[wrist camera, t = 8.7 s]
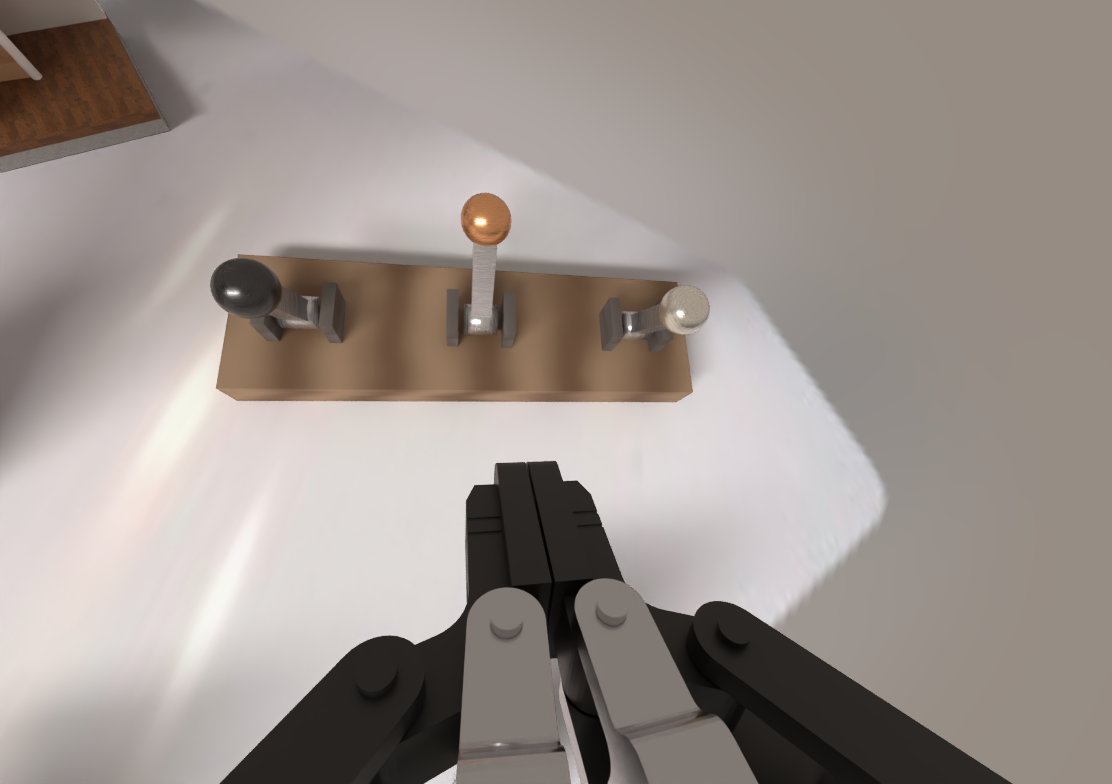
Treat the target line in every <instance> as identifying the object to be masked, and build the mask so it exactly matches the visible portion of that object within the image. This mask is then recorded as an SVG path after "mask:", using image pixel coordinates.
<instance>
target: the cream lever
mask: <svg viewBox="0 0 1112 784" xmlns="http://www.w3.org/2000/svg"><path fill="white" fill-rule="evenodd" d="M709 311H710V306H709V302H708V299H707V297H706V296H705V294H704V293H703V292H702V291H701V290H699V289H698V288H696V287H693V286H688V285H683V286H678V287H675V288H673V289H671V290H670V291H669V292H667V293H666V295H665V296H664V297H663V299H662V301H661V303H660V304H658V305H655V306H653V307H650V308H647V309H645V310H642V311H640V312H632V311H621V317H622V327H623V336H624V337H623V338H622V339H623V340H650V339H651V338H652V336H653V333H654V332H657V331H661V330H665V329H668V330H669V331H671V332H672V333H675V334H679V335H687V334H691V333H694V332H696V331H698V330H699V329H700V328H701V327H702V326H703V325H704V324H705V323H706V321H707V319H708V316H709Z"/></svg>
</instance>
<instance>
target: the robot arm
mask: <svg viewBox="0 0 1112 784" xmlns="http://www.w3.org/2000/svg"><path fill="white" fill-rule="evenodd" d="M465 551H466V593H467V605H466V607H465V610H464V612H463V613H462V615H461V616H460V618H459V619H458V620H457V621H456V622H455V623H454V624H453V625H452V626H451V627H450V628H448V629H447V630H445V631H444V632H442V633H440V634H438V635H437V636H434V637H432V638H430V639H427V640H425V641H423V642H421V643H418V644H416V645H414V644H413V643H412V642H410V641H409V640H407V639H405V638H402V637H398V636H380V637H376V638H372V639H370V640H367V641H365V642H363V643H361V644H359V645H358V646H356V647H355V648H353V649H352V650H351V651H350V652H349V653H347V654H346V655H345V656H344V657H343V658H342V659H341V660H340V661H339V662H338V663H337V664H336V665H335V666H334V667H333V668H332V669H331V670H330V672H329V673H328V674H327V675H326V676H325V677H324V678H323V679H322V680H321V681H320V682H319V683H318V684H317V685H316V686H315V687H314V688H313V689H312V690H311V691H310V692H309V693H308V694H307V695H306V696H305V697H304V698H303V699H302V700H301V701H300V702H299V703H298V704H297V705H296V706H295V707H294V708H293V709H292V710H291V711H290V712H289V713H288V714H287V715H286V716H285V717H284V718H283V719H282V720H281V721H280V722H279V724H278V725H277V726H276V727H275V728H274V729H273V730H272V731H271V732H270V733H269V734H268V735H267V736H266V737H265V738H264V739H263V740H262V741H261V742H260V743H259V744H258V745H257V746H256V747H255V748H254V749H253V750H252V751H251V752H250V753H249V754H248V755H247V756H246V757H245V758H244V759H243V760H242V761H241V762H240V763H239V764H238V765H237V766H236V767H235V768H234V769H233V770H232V771H231V772H230V773H229V775H228V776H227V777H226V778H225V779H224V780H223V781H222V782H221V783H220V784H424V783H426V782H427V781H429V780H431V779H432V778H434V777H436V776H437V775H439V774H441V773H442V772H444V771H446V770H448V769H449V768H451V767H453V766H454V765H456V764H457V775H456V784H571V780H570V773H569V766H568V761H567V756H566V752H565V749H564V747H563V746H562V745H561V744H560V741H559V736H558V729H557V720H556V710H555V701H554V692H553V682H552V673H551V663H550V659H552V658H557V659H558V664H559V669H560V674H561V680H560V685H559V700H560V705H561V708H562V712H563V716H564V720H565V724H566V728H567V732H568V736H569V740H570V743H571V747H572V751H573V755H574V759H575V763H576V767H577V771H578V775H579V778H580V782H581V784H1012V783H1010V782H1009V781H1007V780H1006V779H1004V778H1003V777H1001V776H1000V775H998V774H997V773H995V772H993V771H992V770H990V769H989V768H987V767H986V766H984V765H983V764H981V763H980V762H978V761H977V760H975V759H974V758H972V757H970V756H969V755H967V754H966V753H964V752H963V751H961V750H960V749H958V748H956V747H955V746H954V745H952V744H950V743H949V742H947V741H946V740H944V739H943V738H941V737H940V736H938V735H936V734H935V733H933V732H932V731H930V730H929V729H927V728H926V727H924V726H923V725H921V724H920V723H918V722H916V721H915V720H913V719H912V718H910V717H909V716H907V715H906V714H904V713H903V712H901V711H900V710H898V709H897V708H895V707H893V706H892V705H891V704H889V703H887V702H886V701H884V700H883V699H881V698H880V697H878V696H877V695H875V694H873V693H872V692H871V691H869V690H867V689H866V688H864V687H863V686H861V685H860V684H858V683H857V682H855V681H853V680H852V679H850V678H849V677H847V676H846V675H844V674H843V673H841V672H840V671H838V670H837V669H835V668H833V667H832V666H830V665H829V664H827V663H826V662H824V661H823V660H821V659H820V658H818V657H816V656H815V655H814V654H812V653H811V652H809V651H808V650H806V649H804V648H803V647H801V646H800V645H798V644H797V643H795V642H794V641H792V640H791V639H789V638H787V637H786V636H784V635H783V634H781V633H780V632H778V631H777V630H775V629H774V628H772V627H771V626H769V625H768V624H766V623H764V622H763V621H761V620H760V619H758V618H757V617H755V616H754V615H752V614H751V613H749V612H748V611H746V610H744V609H743V608H741V607H739V606H737V605H734V604H731V603H728V602H722V601H713V602H708V603H706V604H704V605H702V606H701V607H700V608H699V609H698V610H697V612H696V614H695V616H690V615H686V614H681V613H676V612H671V611H666V610H662V609H658V608H656V607H653V606H651V605H649V604H647V603H645V602H644V600H643V598H642V597H641V596H640V595H639V593H638V592H637V591H635V590H634V589H633V588H632V587H630V586H629V585H627V584H625V582H624V580H623V578H622V575H621V572H620V570H619V567H618V564H617V562H616V559H615V557H614V554H613V551H612V549H611V546H610V544H609V541H608V538H607V536H606V533H605V530H604V528H603V527H602V523H601V520H600V517H599V515H598V514H597V509H596V507H595V504H594V502H593V499H592V496H591V494H590V493H589V492H588V491H587V490H586V489H585V488H584V487H583V486H582V485H581V484H580V483H579V482H578V481H563V480H562V477H561V474H560V470H559V467H558V464H557V462H556V461H543V462H527V463H525V462H517V463H496V464H495V473H494V484H492V485H474V487H473V489H472V491H471V493H470V494H469V496H468V498H467V500H466V540H465Z"/></svg>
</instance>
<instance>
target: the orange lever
mask: <svg viewBox="0 0 1112 784" xmlns="http://www.w3.org/2000/svg"><path fill="white" fill-rule="evenodd" d="M461 225H462V228H463V231H464V233H465V234H466V236H467V237H468V238H469V239H470V240H471V241H472V242H473V262H472V292H471V304H464V334H474V335H497V333H498V305H492V303H493V290H494V278H495V266H496V253H497V244H499V243H501V242H502V241H503V240H504V239H505V238H506V237H507V235H508V233H509V231H510V228H511V214H510V211H509V209H508V207H507V205H506V204H505V202H504V201H503V200H502V199H500V198H499V197H497V196H496V195H493V194H490V193H480V194H476V195H474V196H472V197H471V198H470V199H468V200H467V202H466V203H465V204H464V206H463V209H462V212H461Z"/></svg>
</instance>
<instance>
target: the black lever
mask: <svg viewBox="0 0 1112 784" xmlns="http://www.w3.org/2000/svg"><path fill="white" fill-rule="evenodd" d="M210 287H211V292H212V295H213V297H214V299H215V301H216V302H217V303H218V305H219V306H220V307H221V308H223V309H224V310H225V311H227V312H228V313H230V314H232V315H234V316H237V317H240V318H246V319H255V318H261V317H264V316H267V315H271V316H273V317H276V320H277V323H278V325H279V326H280V327H281V328H296V329H320V327H319V319H320V309H321V299H322V298H321V297H316V296H300V295H298V294H296V293H294V292H292V291H290V290H289V289H287V288H285V287H283V286H281V283H280V280H279V278H278V277H277V275H276V274H275V273H274V271H273V270H272V269H270V268H269V267H268V266H267V265H265V264H263V263H261V262H259V261H257V260H254V259H249V258H235V259H230V260H228V261H225V262H224V263H222V264H221V265H219V266H218V267H217V268H216V270H215V271H214V273H213V275H212V277H211V283H210Z"/></svg>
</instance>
